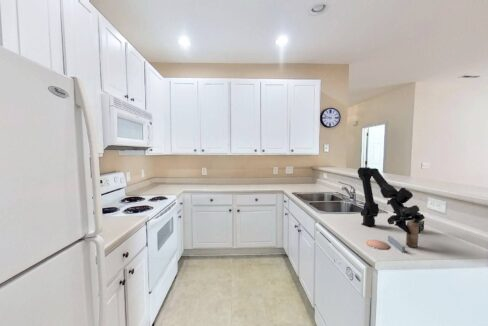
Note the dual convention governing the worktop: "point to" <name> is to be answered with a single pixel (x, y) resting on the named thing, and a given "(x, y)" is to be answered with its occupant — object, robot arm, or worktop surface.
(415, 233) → the walnut cylinder
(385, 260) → the worktop surface
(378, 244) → the resting pad
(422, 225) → the medicine bottle
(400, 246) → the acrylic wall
